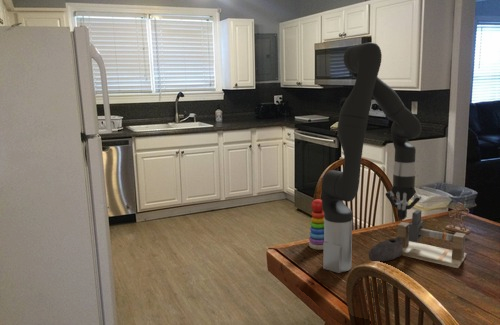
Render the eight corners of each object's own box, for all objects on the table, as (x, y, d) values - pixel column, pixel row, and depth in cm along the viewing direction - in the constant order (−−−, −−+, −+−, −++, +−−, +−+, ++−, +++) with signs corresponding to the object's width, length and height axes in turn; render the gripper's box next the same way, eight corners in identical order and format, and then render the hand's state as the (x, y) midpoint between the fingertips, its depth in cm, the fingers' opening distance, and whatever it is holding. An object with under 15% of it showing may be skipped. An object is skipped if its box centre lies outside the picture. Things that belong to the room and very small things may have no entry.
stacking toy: (328, 242, 167) (329, 196, 163) (330, 250, 159) (330, 202, 156) (308, 242, 168) (308, 196, 164) (309, 250, 160) (309, 202, 156)
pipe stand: (457, 268, 142) (459, 241, 140) (392, 253, 156) (393, 228, 154) (466, 256, 151) (468, 230, 149) (404, 242, 165) (405, 219, 163)
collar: (416, 242, 152) (418, 214, 150) (408, 240, 154) (409, 213, 152) (422, 237, 157) (424, 210, 155) (414, 235, 159) (415, 208, 157)
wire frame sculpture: (444, 228, 179) (446, 201, 177) (449, 226, 181) (451, 199, 179) (466, 234, 172) (468, 205, 170) (470, 232, 174) (472, 204, 172)
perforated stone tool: (373, 266, 145) (373, 247, 144) (363, 260, 150) (363, 242, 149) (407, 258, 151) (408, 239, 150) (396, 253, 156) (397, 235, 154)
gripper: (382, 173, 156) (380, 218, 159) (419, 177, 147) (417, 225, 151) (390, 169, 161) (388, 213, 165) (426, 173, 153) (423, 219, 156)
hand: (402, 218), depth 158 cm, fingers closed
